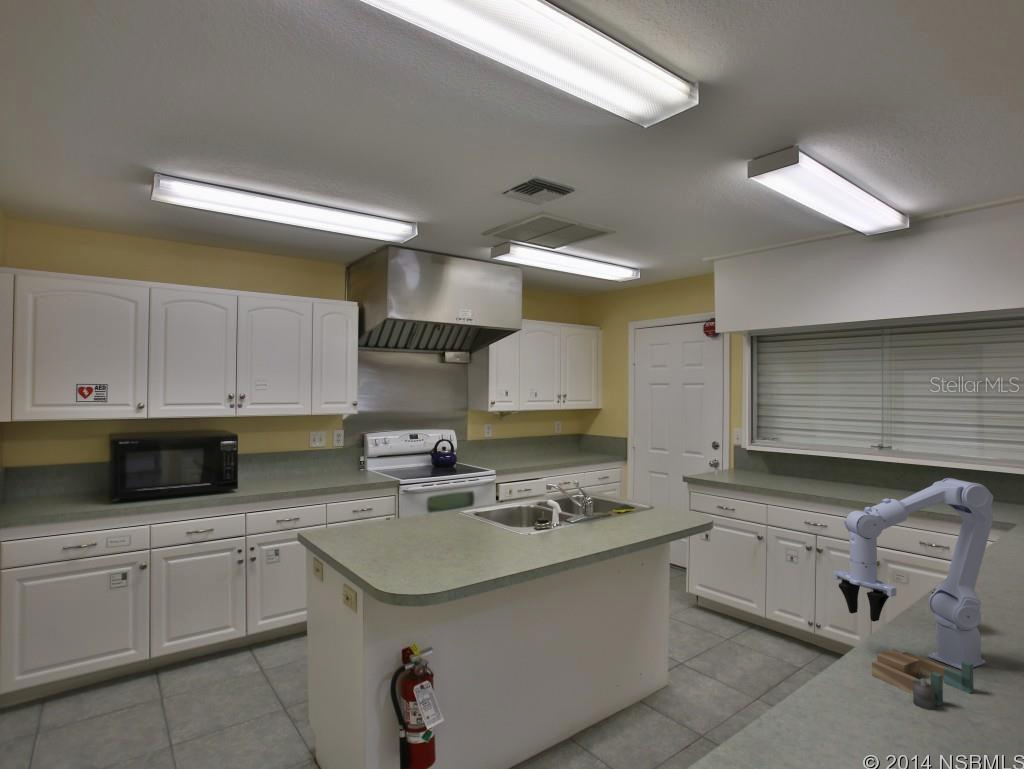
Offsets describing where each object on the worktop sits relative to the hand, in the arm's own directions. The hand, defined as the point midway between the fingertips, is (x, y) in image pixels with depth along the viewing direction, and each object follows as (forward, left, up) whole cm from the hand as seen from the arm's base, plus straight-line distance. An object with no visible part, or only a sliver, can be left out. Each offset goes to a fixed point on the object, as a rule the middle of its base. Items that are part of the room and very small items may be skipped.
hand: (863, 616), depth 139 cm
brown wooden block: (0, +8, -11) cm, 13 cm away
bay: (+2, +13, -10) cm, 17 cm away
